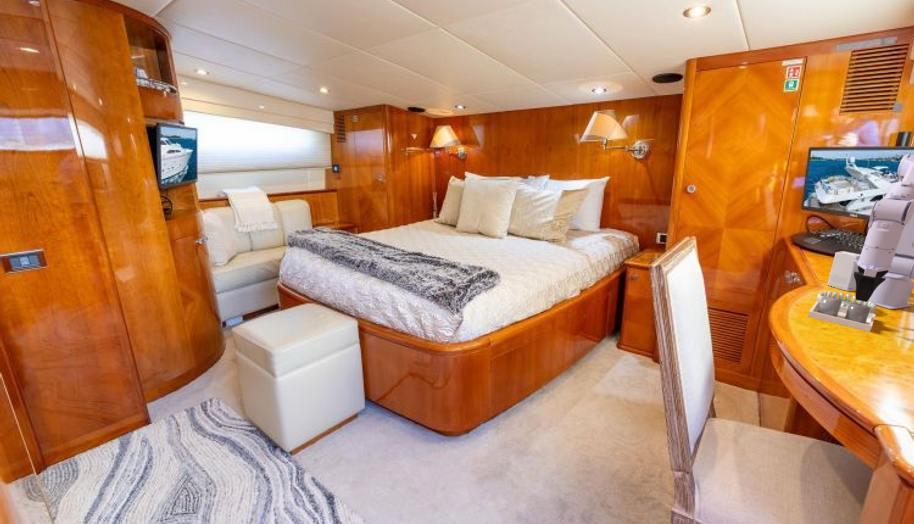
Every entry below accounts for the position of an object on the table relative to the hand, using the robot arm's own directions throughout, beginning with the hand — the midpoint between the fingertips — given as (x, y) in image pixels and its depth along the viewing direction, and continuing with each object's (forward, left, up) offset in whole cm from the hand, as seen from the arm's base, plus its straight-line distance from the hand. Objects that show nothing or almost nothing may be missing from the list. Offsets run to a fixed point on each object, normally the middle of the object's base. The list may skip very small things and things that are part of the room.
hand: (862, 297), depth 101 cm
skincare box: (-30, -20, -8) cm, 37 cm away
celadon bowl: (-11, -8, -8) cm, 16 cm away
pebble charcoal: (0, 0, -7) cm, 7 cm away
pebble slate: (+2, -5, -7) cm, 9 cm away
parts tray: (+1, -3, -8) cm, 8 cm away
